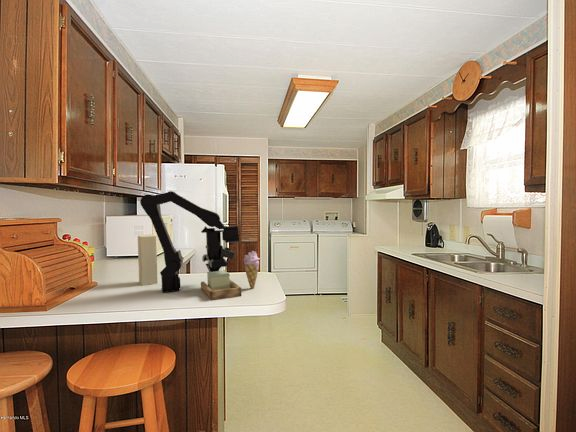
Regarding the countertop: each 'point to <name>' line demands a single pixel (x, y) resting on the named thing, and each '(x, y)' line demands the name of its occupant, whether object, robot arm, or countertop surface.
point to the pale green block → (218, 280)
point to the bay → (221, 291)
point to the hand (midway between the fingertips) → (215, 281)
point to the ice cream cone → (251, 267)
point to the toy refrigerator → (147, 259)
